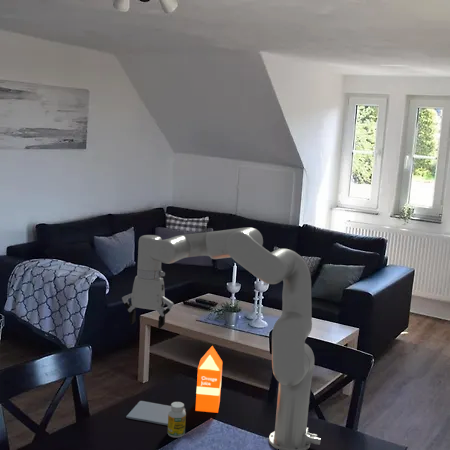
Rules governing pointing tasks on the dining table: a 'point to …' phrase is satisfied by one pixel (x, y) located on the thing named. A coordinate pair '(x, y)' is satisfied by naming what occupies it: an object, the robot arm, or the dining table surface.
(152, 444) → the dining table surface
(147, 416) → the felt mat
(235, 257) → the robot arm
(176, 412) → the supplement bottle
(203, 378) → the orange juice
